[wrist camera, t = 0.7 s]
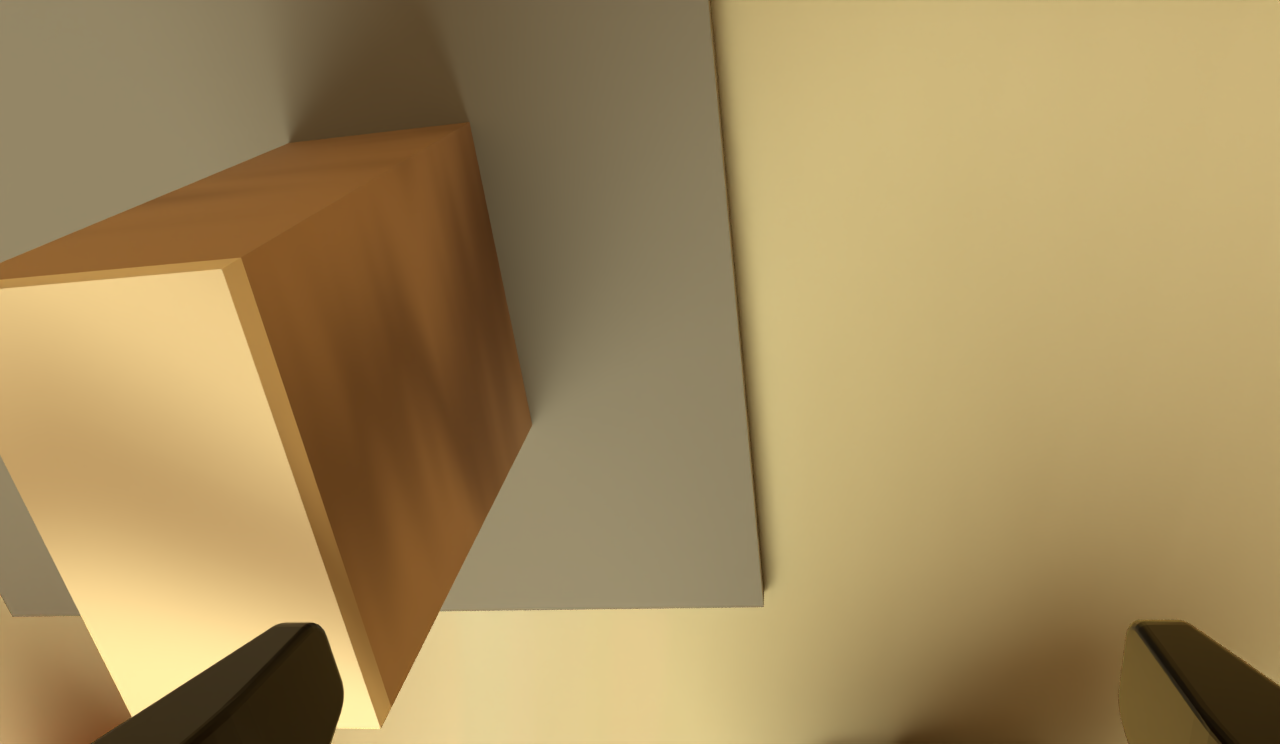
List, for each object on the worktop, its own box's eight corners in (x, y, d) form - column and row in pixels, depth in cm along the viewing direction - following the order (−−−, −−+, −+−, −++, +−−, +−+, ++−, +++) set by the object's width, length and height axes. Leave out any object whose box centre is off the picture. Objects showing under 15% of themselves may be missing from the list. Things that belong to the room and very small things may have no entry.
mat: (763, 594, 23) (763, 606, 22) (25, 605, 27) (12, 616, 26) (687, -244, 15) (685, -249, 15) (-327, -56, 19) (-354, -56, 19)
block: (532, 425, 21) (380, 728, 13) (373, 433, 21) (137, 725, 13) (469, 121, 18) (220, 269, 10) (288, 142, 19) (-80, 296, 11)
